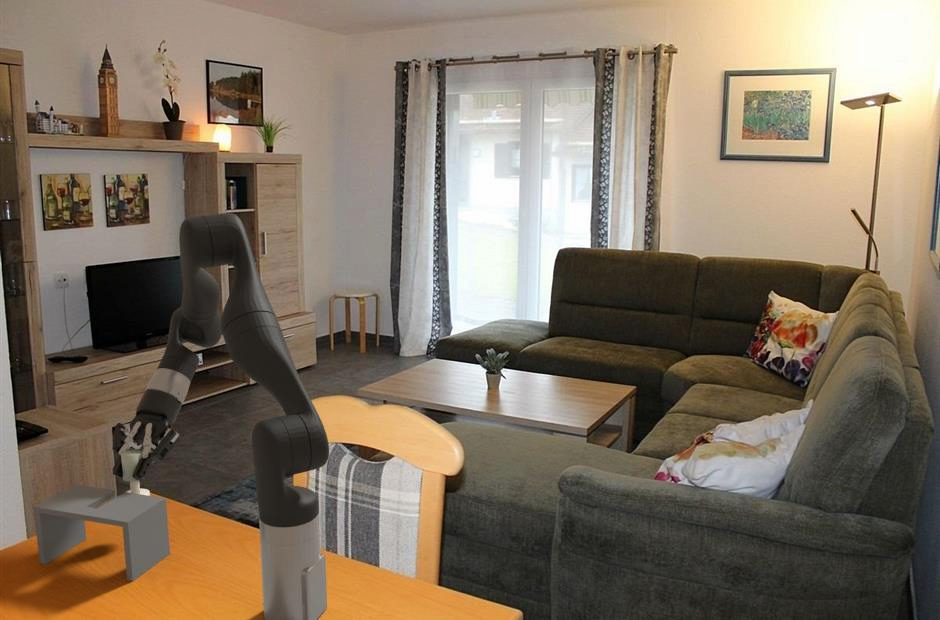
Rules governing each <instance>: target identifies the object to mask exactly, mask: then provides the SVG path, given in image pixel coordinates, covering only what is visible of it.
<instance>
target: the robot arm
mask: <svg viewBox="0 0 940 620" xmlns="http://www.w3.org/2000/svg"><path fill="white" fill-rule="evenodd" d="M178 233H179V236H178V237H179V241H178V243H179V256H180V265H181V266H180V268H181V276H182V286H183V289H182V298H181V306H180V307H178V308H177V309H175V311H174V312H173V313H172V315H171V318H170V322H169V330H168V338H167V342H166V343H167V344H166V346H165V349H164V353H163V355H162V357H161V360H160V362H159V364H158V366H157V368H156V370H155V371H154V373H153V375H152V376H151V378H150V380H149V381H148V384H147V386H146V387H145V390H144V391H143V395H142V396H141V398H140V401H139V402H138V404H137V407H136V409H135V410H136V411H135V416H134V417H133V419H132V420H130V422H129V423H125V424H122V423H121V422H117V424H116V425H115V429H114V435H113V440H112V441H113V442H112V451H113V452H114V453H117V455H118V457H117V459H116V461H115V463H114V465H113V467H112V475H113V476H115V477H116V478H119V479H123V470H122V460H121V453H122V452H124V451H126V450H130V449H141V447H143V449H142V450H143V454H142V457H143V458H140V460H139V461H138V464H137V466H136V468H135V470H134V472H133V475H132V477H133V478H134V479H135V480H138V481H139V482H140V481H142V480H143V479H144V478H145V477H146V476H147V473H148V471H149V468H150V466H151V465H152V463H154V462H156V461H158V462H162V461H163V460H164V459H165V458H166V457H167V455H169V453H170V452H171V451H172V449H173V448H174V447H175V446H176V444H177V443H178V442H179V440H180V439H181V435H180V434H179V433H178V431H176V430H174V429H172V425H173V424H174V423H175V421H176V419H177V417H178V415H179V412H180V411H181V408H182V406H183V404H184V401H185V399H186V397H187V395H188V392H189V388H190V385H191V383H192V380H193V378H194V376H195V373H196V371H197V369H198V366H199V364H200V357H199V356H198V355H197V353H196V352H194V351H192V350H191V349H190V348H188V347H186V346H185V345H184V344H183V343H182V341H184V342H187V343H189V344H193V345H195V346H199V347H200V348H206V349H207V348H208V349H209V348H212V347H214V346H216V345H217V344H218V343H219V342H220V340H221V338H222V337H223V339H224V343H225V345H226V348H227V351H228V355H229V357H230V359H231V360H232V362H233V364H234V365H235V366H236V367H237V368H238V369H239V370H240V371H241V372H243V373H244V374H245V375H246V376H247V377H248V378H249V379H251V380H252V381H254V382H255V383H256V384H258V385H259V386H261V387H262V388H263V389H264V390H266V391H267V392H268V393H269V394H270V395H272V397H273V398H274V399H275V400H276V401H277V402H278V404H279V405H280V407H281V409H282V410H283V412H284V413H285V414H284V415H279V416H276V417H270V418H267V419H262V420H259V421H258V422H256V423H255V425H254V426H253V430H252V432H251V433H252V434H251V451H252V452H251V453H252V459H253V460H252V461H253V468H254V470H253V471H254V479H255V493H256V500H257V501H256V502H257V506H258V520H259V521H258V522H259V542H260V561H261V562H260V565H261V566H260V567H261V582H262V583H261V584H262V599H263V600H262V606H263V617H264V620H319V618H320V617H321V615H323V613H324V612H325V610H327V608H328V591H327V588H328V587H327V564H326V563H327V559H326V554H324V553H321V539H320V537H321V534H320V533H321V530H320V504H319V498H318V495H317V493H316V492H315V491H313V490H312V489H310V488H307V487H304V486H300V485H291V484H286V483H285V477H290V476H294V475H299V474H301V473H307V472H311V471H314V470H317V469H320V468H322V467H324V466H325V465H326V464H327V463H328V461H329V457H330V443H329V440H328V439H329V438H328V435H327V432H326V429H325V426H324V424H323V422H322V421H323V420H321V418H320V415H319V412H318V411H317V408H316V407H315V404H314V403H313V401H312V399H311V397H310V395H309V393H308V391H307V390H306V387H305V386H304V384H303V381H302V380H301V378H300V375H299V373H298V371H297V368H296V366H295V363H294V360H293V358H292V355H291V352H290V350H289V347H288V344H287V342H286V339H285V336H284V333H283V330H282V328H281V326H280V322H279V320H278V318H277V315H276V312H274V308H273V306H272V304H271V302H270V299H269V296H268V295H267V292H266V289H265V287H264V285H263V282H262V279H261V277H260V274H259V270H258V267H257V264H256V260H255V258H254V254H253V251H252V250H253V249H252V247H251V244H250V240H249V237H248V235H247V231H246V229H245V226H244V224H243V222H242V220H241V218H239V216H238V215H237V214H236V213H233V212H231V213H230V212H228V213H227V212H223V213H213V214H206V215H205V214H204V215H198V216H197V215H196V216H192V217H187V218H186V219H184V220H183V221H182V223H181V225H180V227H179V232H178ZM226 265H231V266H232V267H233V268H234V271H235V275H234V282H233V285H232V288H231V290H230V293H229V295H228V298H227V300H226V303H225V306H224V308H223V310H222V313H221V311H220V310H219V306H220V301H221V287H220V285H219V283H218V281H217V280H216V278H214V276H213V275H212V274H210V273H209V272H208V271H207V270H205V269H207V268H214V267H220V266H226ZM142 478H143V479H142Z"/></svg>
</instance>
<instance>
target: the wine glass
mask: <svg viewBox="0 0 940 620" xmlns="http://www.w3.org/2000/svg"><path fill="white" fill-rule="evenodd" d="M129 449H130V448H129ZM129 449H128V450H126V451H124V452H122V453H121V460H122V470H123V477H122V480H123V481H124V482H129V486H130V487H129V488H130V490H129V489H128V490H127V491H125V492H129V493H135V494H142V495H148V496H151V492H150V490H149V489H147V488H140V481H138V480H135V479H134V478H133V477H132V475H133V472H134V470H135V468H136V466H137V464H138V461H139V460H140V458H143V457H142V454H143V449H141V448H140V449H130V450H129ZM143 479H144V478H142V480H143Z"/></svg>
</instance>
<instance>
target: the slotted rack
mask: <svg viewBox="0 0 940 620" xmlns="http://www.w3.org/2000/svg"><path fill="white" fill-rule="evenodd" d="M115 496H116V491H115V489H109V488H104V487H103V488H102V487H96V486H95V487H94V486H89V485H82V484H77V483H76V484H74V485H72V486H70V487H69V488H67V489H64V490H62V491H61V492H59V493H57V494H55V495H53V496H51V497H49V498H48V499H46V500H44V501H41V502H39V503H37V504H36V505H33V513H34V522H35V531H36V542H37V552H38V559H39V564H40V565H47V564H49V563H50V562H52V561H53V560H55V559H56V558H58V557H59V556H61V555H63V554H64V553H66V552H67V551H69V550H71V549H72V548H74V547H76V546H78V545H79V544H81V543H83V542H84V541H86V539H87V532H86V531H87V530H86V522H91V523H98V524H103V525H108V526H109V525H110V526H115V527H121V528H122V538H123V546H124V548H123V549H124V559H125V569H126V571H125V573H126V580H127V581H130V582H134V581H135V580H137V579H139V578H140V577H141V576H143V574H145V573H146V572H148V571H149V570H150V569H152V568H153V567H154V566H155V565H157V564H159V563H160V562H161V561H163V560H164V559H165V558H167V557H168V556H169V555H171V551H170V549H171V548H170V537H169V536H170V534H169V533H170V532H169V524H168V522H169V521H168V520H169V519H168V510H167V509H168V508H167V506H168V505H167V498H166V497H160V496H153V495H150V496H148V495H142V494H135V493H129V492H126V491H125V492H123V493H122V494H121V493H120V495H118V496H116V497H115ZM111 498H112V499H111ZM109 499H111V500H109ZM108 500H109V501H108ZM106 501H107V502H106ZM104 502H105V503H104ZM102 503H104V504H102ZM99 505H101V506H99ZM97 506H99V507H97Z"/></svg>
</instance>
